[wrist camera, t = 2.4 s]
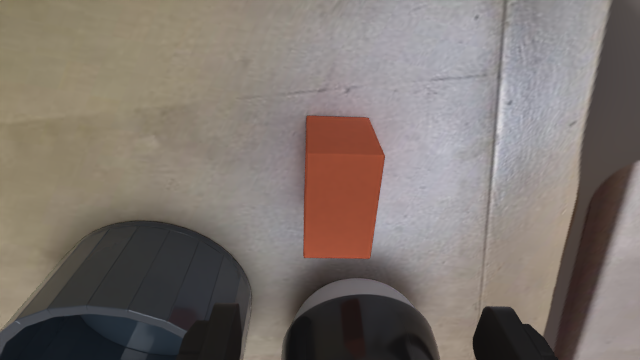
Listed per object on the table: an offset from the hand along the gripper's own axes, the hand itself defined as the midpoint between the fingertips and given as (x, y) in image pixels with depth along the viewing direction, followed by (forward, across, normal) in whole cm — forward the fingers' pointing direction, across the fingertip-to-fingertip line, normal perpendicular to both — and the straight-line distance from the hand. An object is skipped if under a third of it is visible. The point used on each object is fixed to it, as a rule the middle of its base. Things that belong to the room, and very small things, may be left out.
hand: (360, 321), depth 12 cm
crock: (+11, +12, +11) cm, 20 cm away
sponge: (+11, 0, 0) cm, 11 cm away
